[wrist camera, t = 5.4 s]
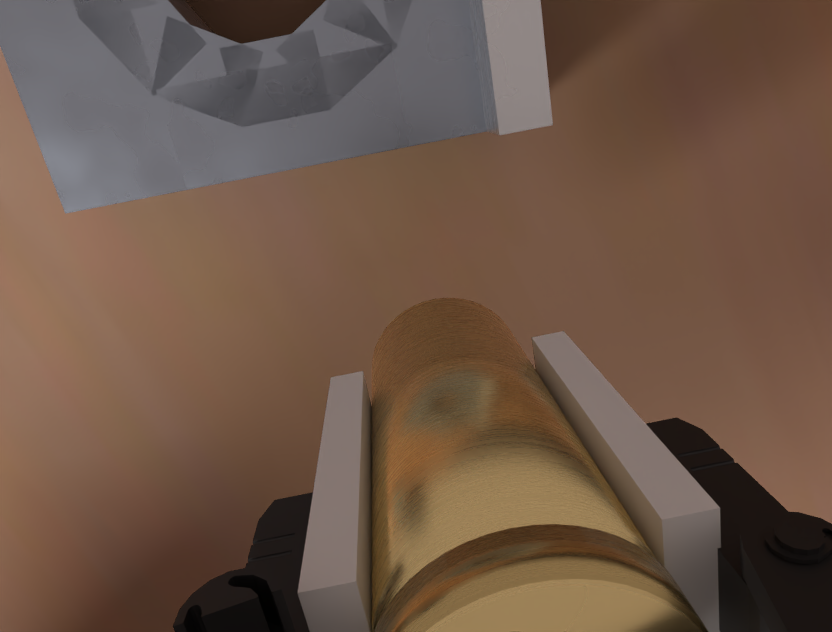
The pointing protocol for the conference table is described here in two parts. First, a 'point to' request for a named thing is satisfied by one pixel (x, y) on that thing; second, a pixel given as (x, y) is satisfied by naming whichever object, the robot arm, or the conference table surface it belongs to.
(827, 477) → the conference table surface
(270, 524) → the robot arm
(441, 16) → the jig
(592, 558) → the cylinder
